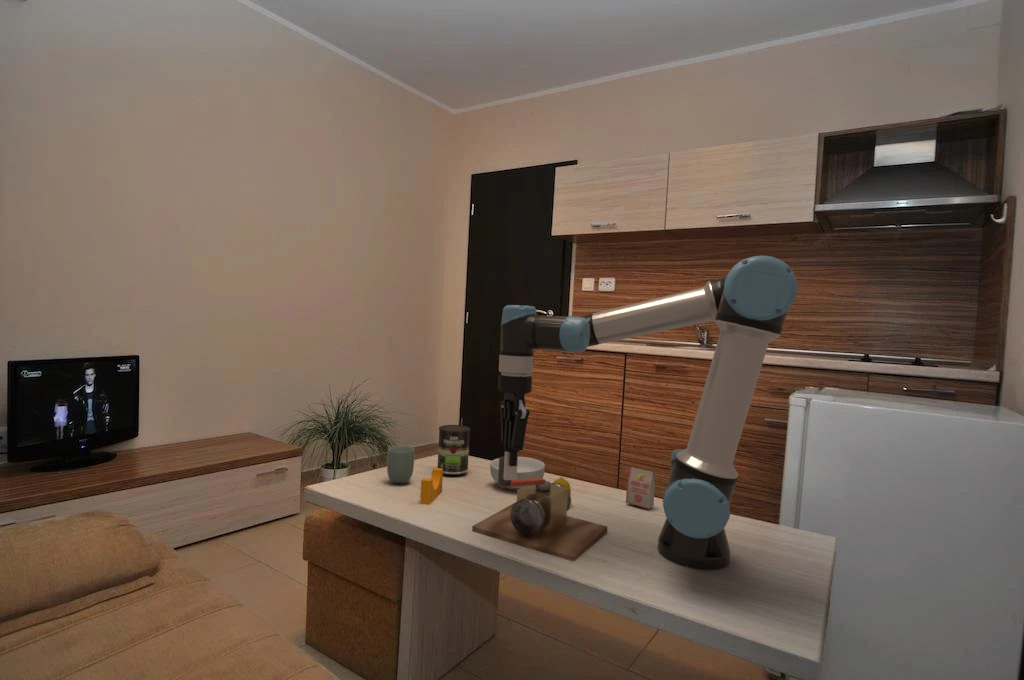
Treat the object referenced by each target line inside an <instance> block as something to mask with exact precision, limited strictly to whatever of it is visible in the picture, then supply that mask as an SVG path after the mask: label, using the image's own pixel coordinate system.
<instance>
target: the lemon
mask: <svg viewBox="0 0 1024 680" xmlns="http://www.w3.org/2000/svg"><path fill="white" fill-rule="evenodd" d="M552 483H559V484H562V485H563V486H564V487H565V488H568V491H569V493H570V496H572V495H571V493H572V491H571V485H570V483H569V481H568V480H566V479H565V478H563V476H560V477H559V478H556V479H554V481H553V482H552Z"/></svg>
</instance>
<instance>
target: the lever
mask: <svg viewBox="0 0 1024 680" xmlns="http://www.w3.org/2000/svg"><path fill="white" fill-rule="evenodd" d="M498 458H499V472H498V483H497V485H498V486H499V487H500V488H501V489H502V488H506V487H516V486H528V485H536V489H538V490H550V489H551V483H552V482H551V481H548V480H546V479H544V477H543V478H531V479H518V480H504V479H503V477H504V458H505V456H500V457H498Z"/></svg>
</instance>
